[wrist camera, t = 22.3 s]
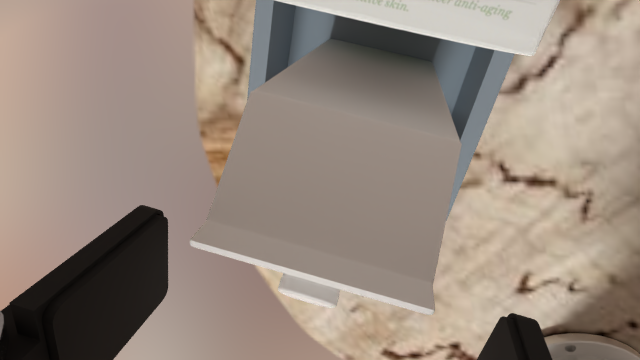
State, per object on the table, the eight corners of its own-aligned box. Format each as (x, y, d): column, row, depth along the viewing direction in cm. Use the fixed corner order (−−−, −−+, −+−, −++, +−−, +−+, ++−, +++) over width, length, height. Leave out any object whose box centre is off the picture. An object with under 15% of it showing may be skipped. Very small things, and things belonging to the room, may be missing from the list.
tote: (570, -173, 20) (630, -230, 15) (436, 188, 30) (442, 230, 25) (311, -214, 21) (280, -280, 16) (268, 146, 32) (240, 177, 26)
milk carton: (329, 37, 26) (192, 128, 9) (433, 61, 25) (485, 204, 9) (311, 133, 29) (186, 326, 13) (402, 156, 29) (397, 391, 12)
